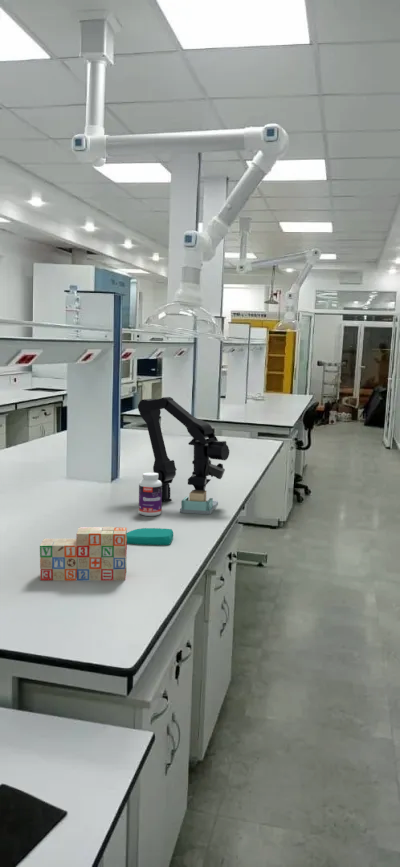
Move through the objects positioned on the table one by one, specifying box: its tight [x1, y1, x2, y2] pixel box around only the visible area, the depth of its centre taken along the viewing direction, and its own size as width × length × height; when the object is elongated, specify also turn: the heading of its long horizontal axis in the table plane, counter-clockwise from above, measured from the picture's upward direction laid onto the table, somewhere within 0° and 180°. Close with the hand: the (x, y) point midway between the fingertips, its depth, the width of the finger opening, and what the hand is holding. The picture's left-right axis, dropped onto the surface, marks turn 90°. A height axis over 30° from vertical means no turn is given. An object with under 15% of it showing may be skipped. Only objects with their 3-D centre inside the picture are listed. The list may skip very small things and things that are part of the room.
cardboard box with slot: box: [188, 489, 207, 502], centre depth 234 cm, size 6×5×6 cm
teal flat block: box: [127, 527, 174, 546], centre depth 198 cm, size 3×11×24 cm
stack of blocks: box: [39, 526, 128, 582], centre depth 165 cm, size 21×6×12 cm, turn 93°
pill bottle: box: [138, 472, 163, 517], centre depth 228 cm, size 8×8×14 cm
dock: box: [179, 496, 219, 515], centre depth 237 cm, size 15×11×4 cm
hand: (201, 499), depth 240 cm, fingers closed
